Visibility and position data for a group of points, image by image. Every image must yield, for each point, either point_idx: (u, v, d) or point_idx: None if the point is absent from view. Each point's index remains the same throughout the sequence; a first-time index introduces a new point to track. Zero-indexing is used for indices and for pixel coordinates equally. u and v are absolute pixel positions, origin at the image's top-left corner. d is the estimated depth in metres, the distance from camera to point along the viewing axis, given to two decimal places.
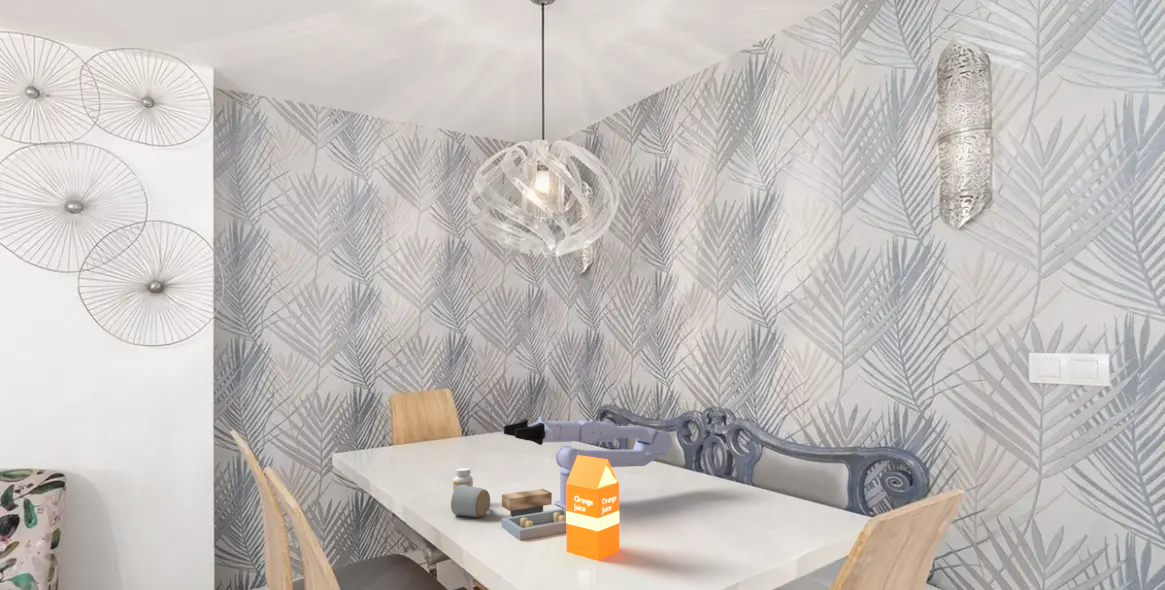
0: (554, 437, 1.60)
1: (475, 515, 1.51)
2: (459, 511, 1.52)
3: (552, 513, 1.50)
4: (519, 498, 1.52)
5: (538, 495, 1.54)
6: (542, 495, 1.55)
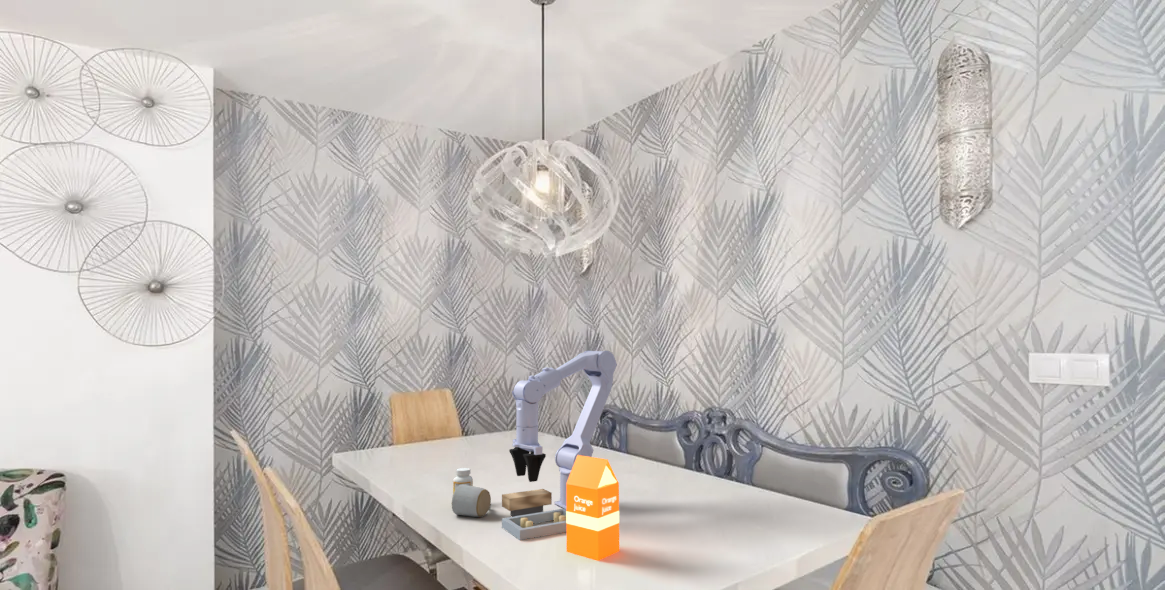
0: (535, 432, 1.55)
1: (476, 515, 1.52)
2: (460, 511, 1.53)
3: (552, 513, 1.50)
4: (519, 498, 1.52)
5: (538, 495, 1.54)
6: (542, 495, 1.55)
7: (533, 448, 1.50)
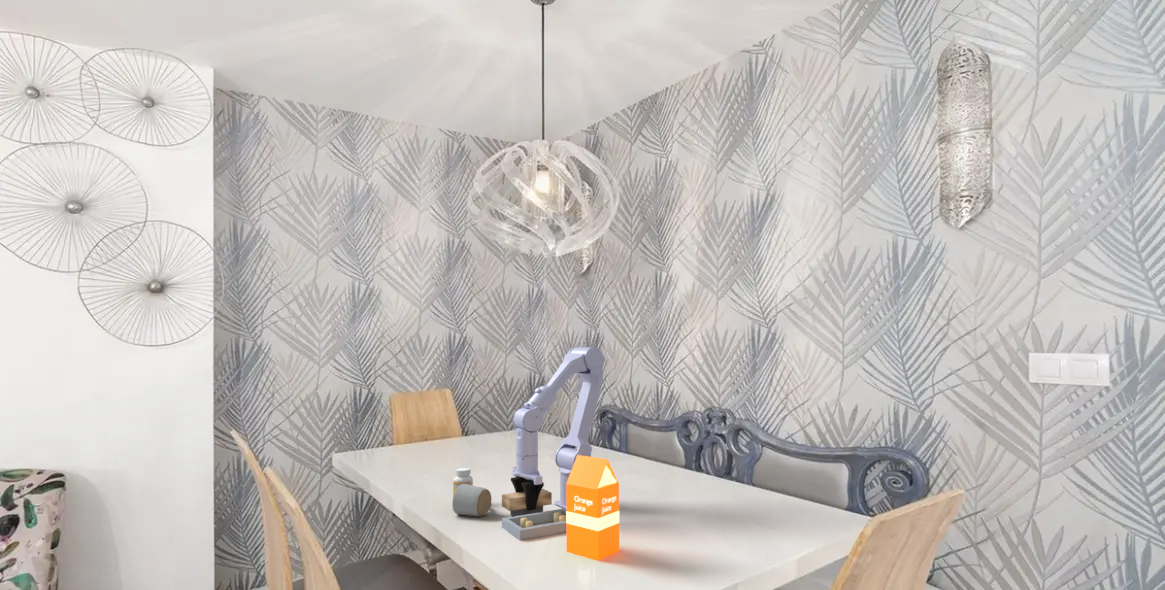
0: (535, 461, 1.54)
1: (476, 514, 1.52)
2: (461, 510, 1.53)
3: (552, 513, 1.50)
4: (519, 498, 1.52)
5: None
6: (542, 495, 1.55)
7: (533, 478, 1.50)
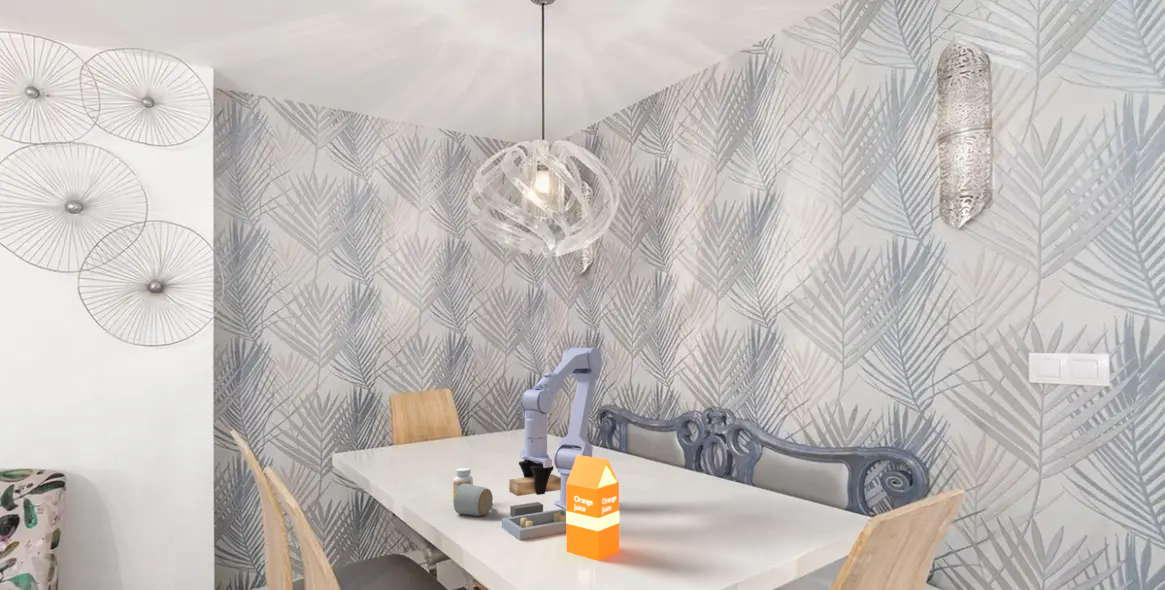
0: (544, 444, 1.49)
1: (478, 514, 1.53)
2: (462, 510, 1.54)
3: (552, 513, 1.50)
4: (527, 483, 1.46)
5: None
6: (551, 480, 1.49)
7: (542, 461, 1.44)
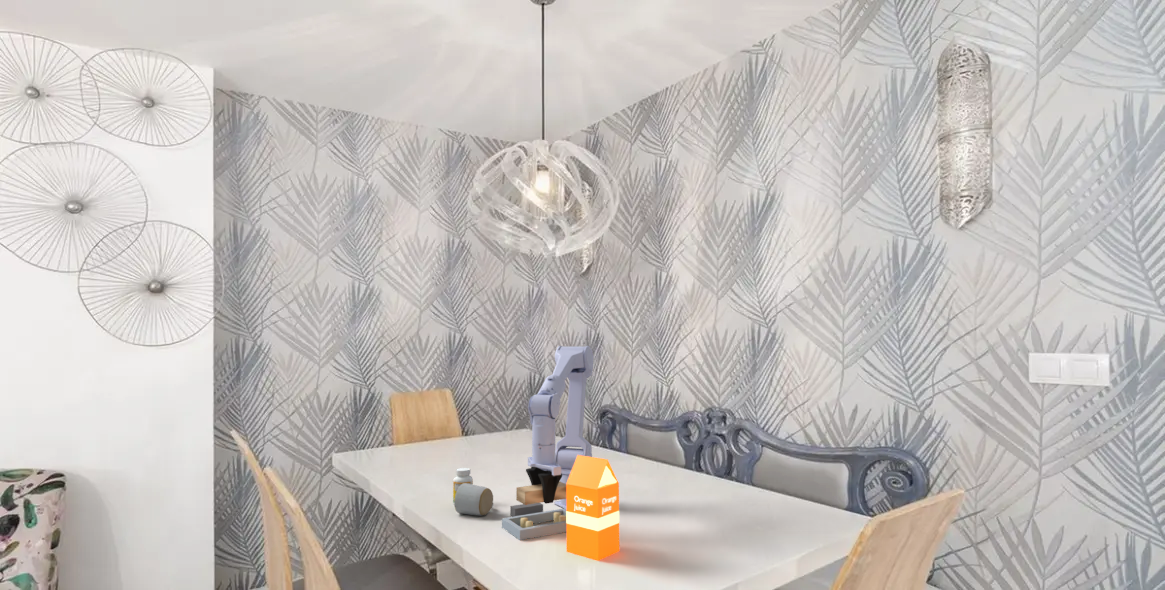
0: (553, 450, 1.44)
1: (478, 513, 1.53)
2: (463, 510, 1.54)
3: (552, 513, 1.50)
4: (535, 491, 1.41)
5: None
6: (559, 488, 1.44)
7: (551, 468, 1.39)
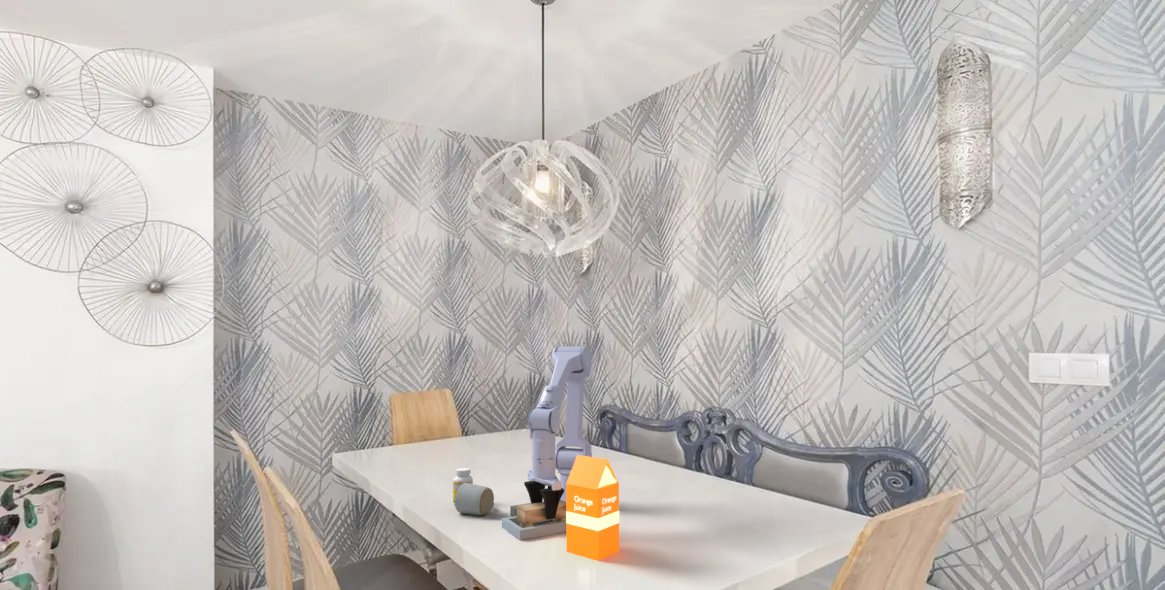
0: (553, 465, 1.44)
1: (479, 513, 1.53)
2: (463, 509, 1.54)
3: None
4: (535, 510, 1.41)
5: None
6: (560, 506, 1.44)
7: (551, 483, 1.39)
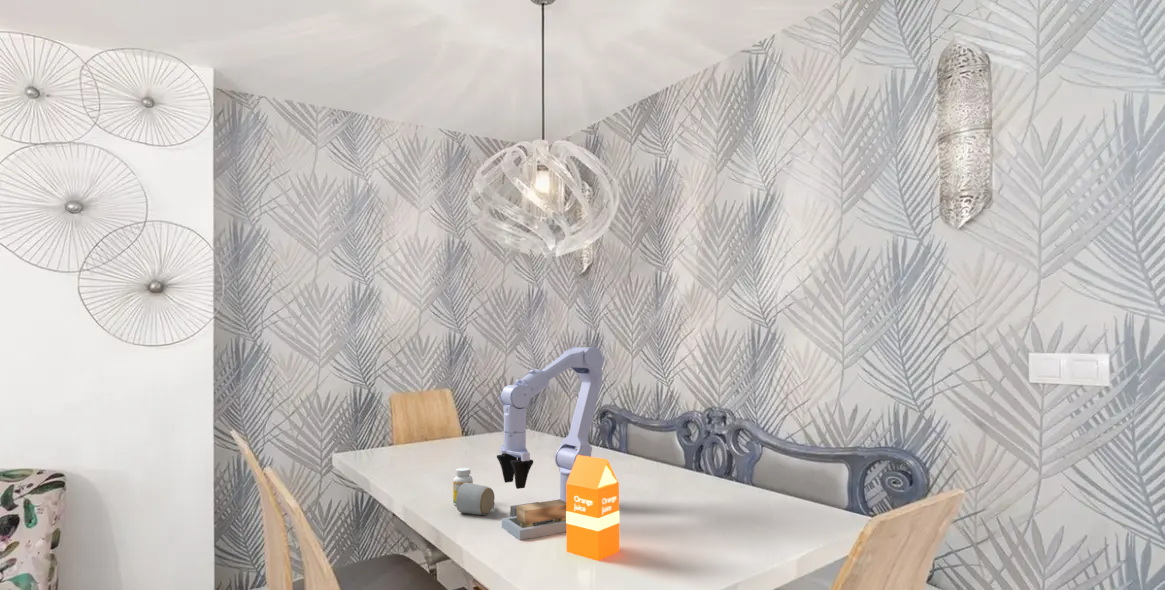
0: (523, 438, 1.52)
1: (480, 513, 1.54)
2: (464, 509, 1.55)
3: None
4: (535, 510, 1.41)
5: (555, 506, 1.43)
6: (560, 506, 1.44)
7: (520, 454, 1.48)
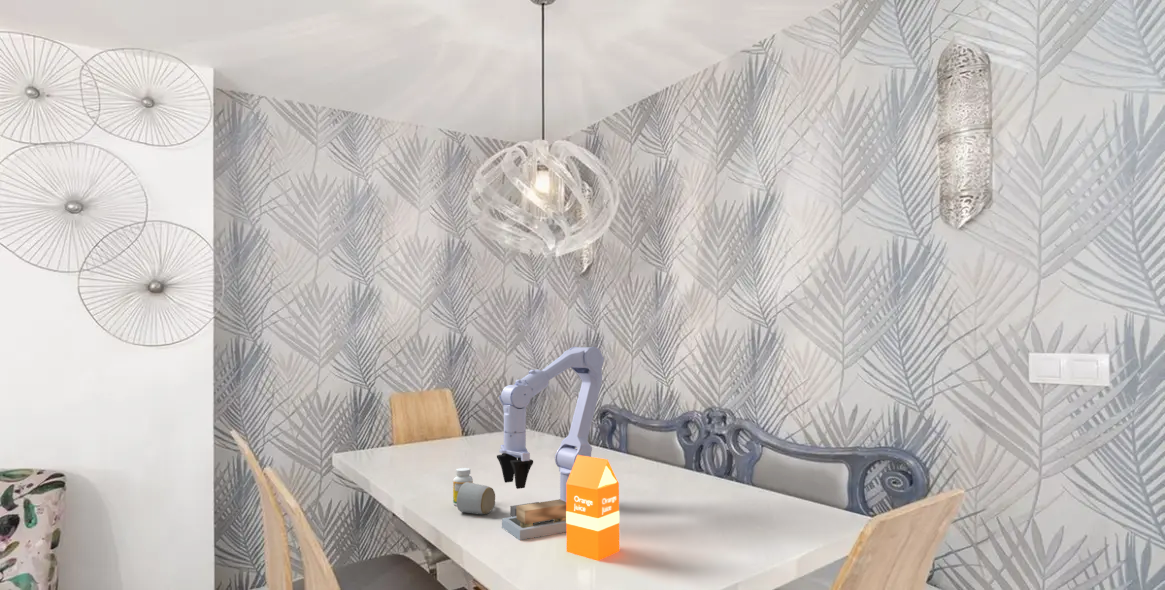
0: (523, 438, 1.52)
1: (480, 512, 1.54)
2: (465, 508, 1.55)
3: None
4: (535, 510, 1.41)
5: (555, 506, 1.43)
6: (560, 506, 1.44)
7: (520, 454, 1.48)
